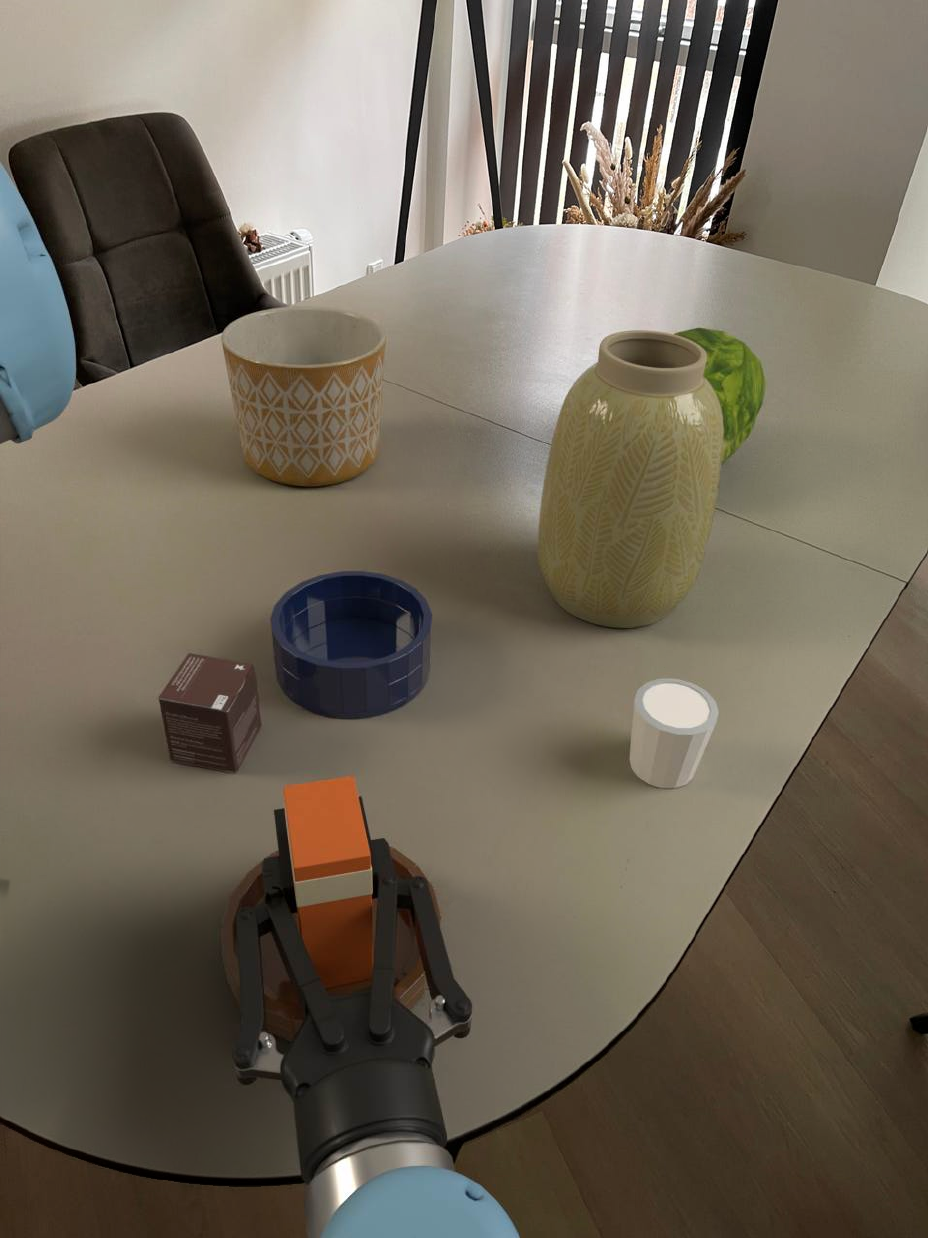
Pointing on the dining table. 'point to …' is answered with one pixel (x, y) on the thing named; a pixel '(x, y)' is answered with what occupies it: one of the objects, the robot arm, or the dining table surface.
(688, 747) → the white cylinder
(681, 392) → the vase
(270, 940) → the bowl
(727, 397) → the lettuce
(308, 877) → the packet
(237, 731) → the box
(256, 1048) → the robot arm
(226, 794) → the dining table surface
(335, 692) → the pot
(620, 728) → the dining table surface
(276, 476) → the planter
